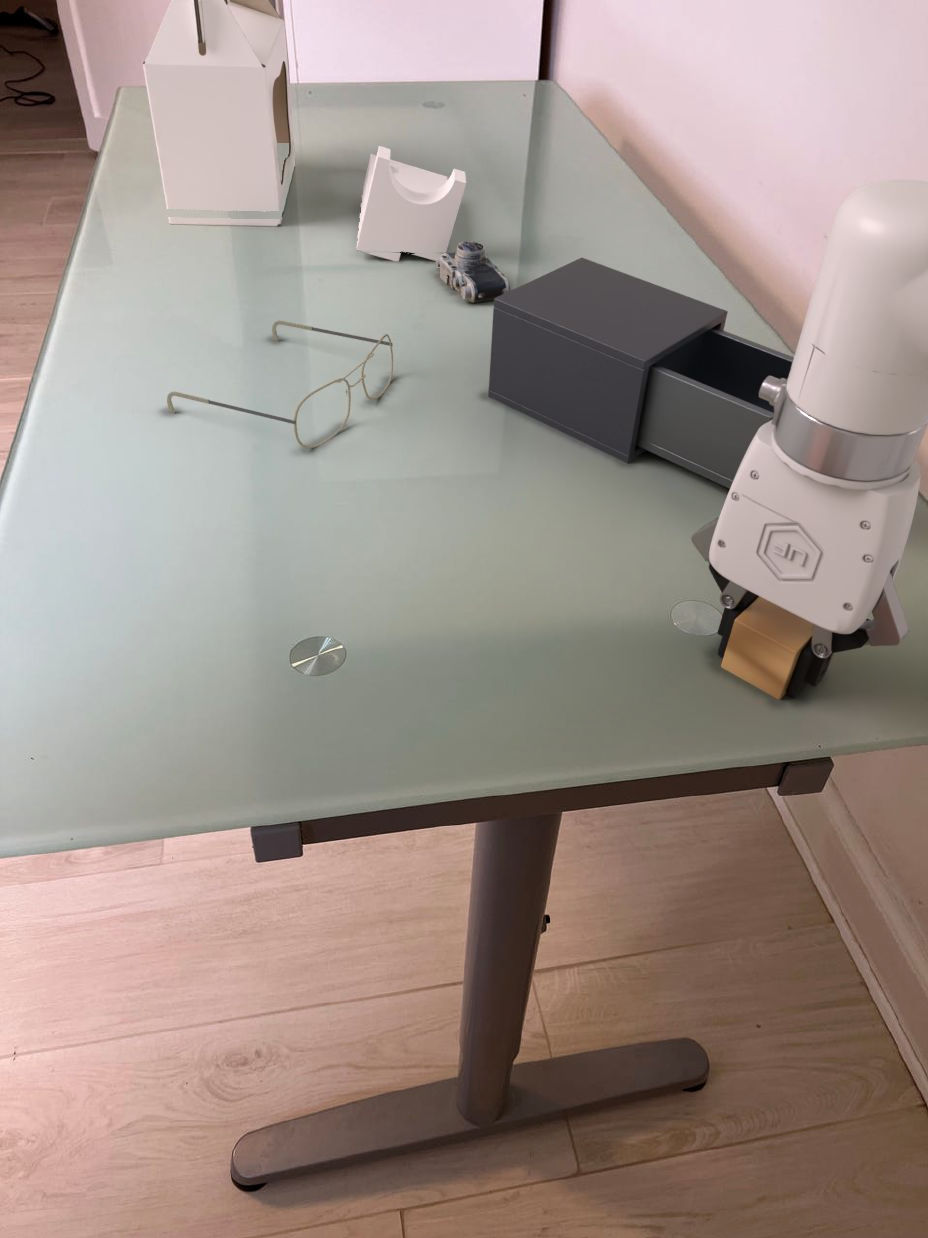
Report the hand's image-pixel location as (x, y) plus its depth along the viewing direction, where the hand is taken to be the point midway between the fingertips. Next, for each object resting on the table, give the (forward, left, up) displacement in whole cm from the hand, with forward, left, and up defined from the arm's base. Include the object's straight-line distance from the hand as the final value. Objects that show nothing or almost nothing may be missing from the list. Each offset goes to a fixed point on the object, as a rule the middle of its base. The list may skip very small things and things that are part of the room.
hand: (766, 663), depth 66 cm
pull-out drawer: (-4, -23, +1) cm, 23 cm away
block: (0, 0, 0) cm, 0 cm away
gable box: (+52, -82, -1) cm, 97 cm away
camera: (+21, -58, -1) cm, 61 cm away
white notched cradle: (+29, -72, -1) cm, 78 cm away
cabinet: (+9, -34, 0) cm, 35 cm away
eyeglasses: (+37, -32, -1) cm, 49 cm away
